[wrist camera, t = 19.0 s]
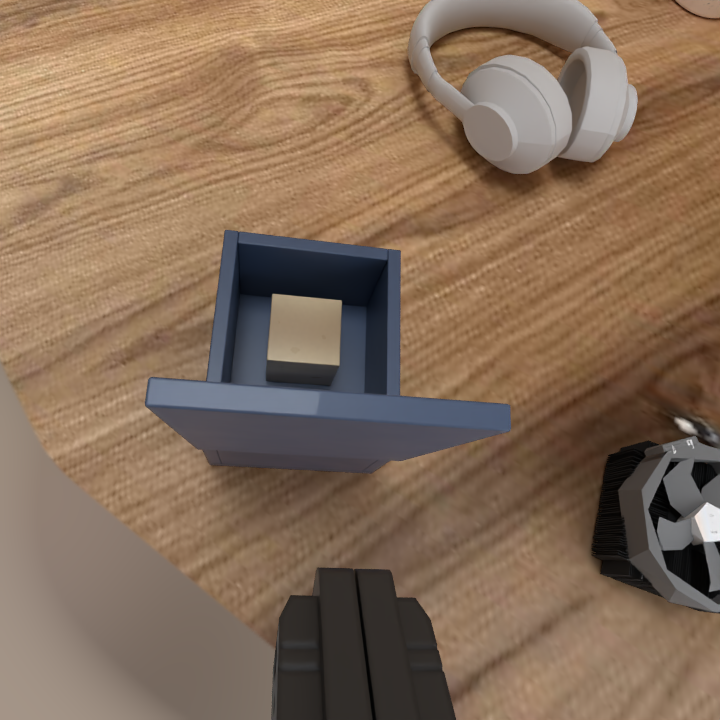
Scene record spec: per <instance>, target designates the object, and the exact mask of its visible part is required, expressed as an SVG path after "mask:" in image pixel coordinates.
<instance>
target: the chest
mask: <svg viewBox="0 0 720 720" xmlns="http://www.w3.org/2000/svg"><path fill="white" fill-rule="evenodd" d="M400 266H401V252H400V250H392V249H383V248H374V247H366V246H357V245H349V244H341V243H332V242H324V241H315V240H307V239H298V238H290V237H281V236H273V235H264V234H256V233H247V232H238V231H231V230H225V233H224V241H223V249H222V258H221V266H220V274H219V282H218V290H217V298H216V306H215V314H214V322H213V330H212V338H211V346H210V354H209V362H208V370H207V378H206V381H211V382H225V383H238V384H251V385H264V386H277V387H290V388H303V389H317V390H330V391H343V392H356V393H369V394H382V395H395V396H400ZM272 294H281V295H291V296H301V297H312V298H322V299H332V300H341V301H342V315H341V342H340V365H339V368H338V370H337V372H336V374H335V376H334V379H333V381H332V383H331V385H330V386H329V385H315V384H302V383H288V382H274V381H266V380H265V379H266V363H267V350H268V338H269V326H270V314H271V302H272ZM203 452H204V454H205V456H206V458H207V460H208V462H209V464H210V465H220V466H239V467H258V468H276V469H295V470H314V471H333V472H352V473H370V474H371V473H373V472H374V471H376V470H377V469H379V468H380V467H382V466H383V465H385V464H386V463H387V462H389V461H390V460H375V459H358V458H340V457H323V456H305V455H288V454H270V453H253V452H235V451H218V450H203Z"/></svg>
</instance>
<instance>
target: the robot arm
mask: <svg viewBox="0 0 720 720" xmlns="http://www.w3.org/2000/svg"><path fill="white" fill-rule="evenodd" d="M271 719H272V720H456V717H455V713H454V709H453V706H452V702H451V698H450V694H449V690H448V686H447V682H446V678H445V674H444V672H443V671H442V662H441V659H440V655H439V651H438V650H437V643H436V639H435V635H434V631H433V627H432V623H431V620H430V618H429V617H428V615H427V614H426V613H425V611H424V610H423V608H422V607H421V605H420V604H419V603H418V601H417V600H416V598H397V596H396V591H395V586H394V581H393V577H392V573H391V571H390V570H381V569H354V571H353V569H350V568H317V570H316V574H315V581H314V587H313V594H312V596H298V595H291V596H290V598H289V600H288V602H287V604H286V606H285V608H284V610H283V612H282V614H281V615H280V617H279V625H278V633H277V641H276V650H275V658H274V667H273V689H272V717H271Z"/></svg>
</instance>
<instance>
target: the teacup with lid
mask: <svg viewBox="0 0 720 720" xmlns="http://www.w3.org/2000/svg"><path fill="white" fill-rule="evenodd" d="M675 1H676V2H677V3H678V4H680V5H681V6H682V7H683V8H685V9H686V10H688V11H690V12H692V13H694V14H696V15H699V16H702V17H706V18H720V0H675Z"/></svg>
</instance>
